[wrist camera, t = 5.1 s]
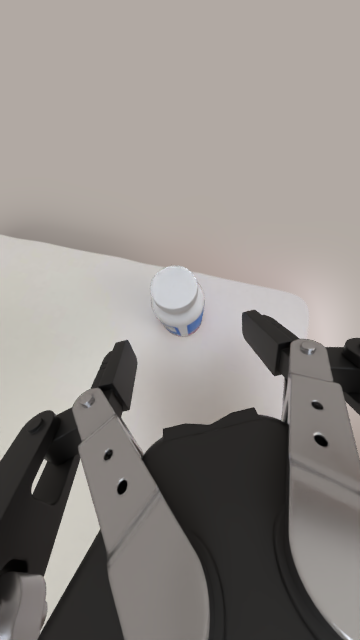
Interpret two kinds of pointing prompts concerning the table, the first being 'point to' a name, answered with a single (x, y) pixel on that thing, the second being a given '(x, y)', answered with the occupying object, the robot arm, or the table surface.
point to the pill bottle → (177, 300)
